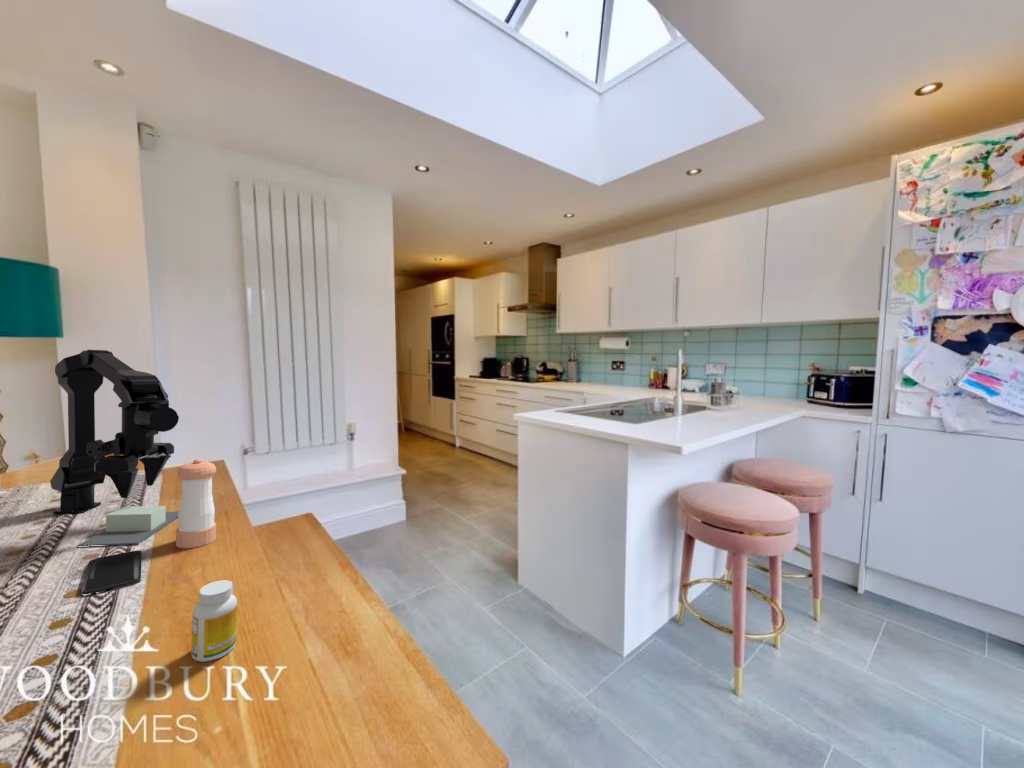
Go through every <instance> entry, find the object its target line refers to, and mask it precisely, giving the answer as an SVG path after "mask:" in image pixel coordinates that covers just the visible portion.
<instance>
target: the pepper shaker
mask: <svg viewBox="0 0 1024 768" xmlns="http://www.w3.org/2000/svg"><path fill="white" fill-rule="evenodd" d="M216 472H217V467H216V465H215V463H212V462H209V461H206V460H205V461H203V460H202V459H200V458H196V459H194V460H193V461H192V462H188V463H185V464H183V465H181V466H180V467H179V468H178V470H177V477H178V478H179V479H180V480H181V499H180V503H179V504H180V505H179V508H178V511H179V512H178V511H177V512H178V518H177V522H178V525H177V526H178V527H177V528H176V529H175V546H176V547H177V548H179V547H180V548H179V549H195V548H199V547H203V546H207V545H209V544H211V543H213V542H214V541H215V540H216V537H217V523H216V521H215V512H216V511H215V510H216V509H215V504H214V503H215V502H214V500H213V499H214V498H213V477H214V476H215V474H216Z"/></svg>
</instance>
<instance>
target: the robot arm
mask: <svg viewBox="0 0 1024 768" xmlns="http://www.w3.org/2000/svg"><path fill="white" fill-rule="evenodd" d="M54 373H55V376H56V377H57V382H58V385H59V386H60V387H61V389H63V390H64V391H65V393H67V420H68V421H67V422H68V423H67V425H68V426H67V427H68V431H67V432H68V433H67V434H68V438H67V439H68V449H67V450H66V451H65V453H64V454H63V455H62V457H61V458H60V459H59V464H58V468H57V469H56V471H55V473H54V475H52V477H51V479H50V480H49V482H50V487H51V489H52V490H54V491H57V492H60V499H59V500H60V503H59V506H60V508H58V509H55V510H53V514H65V513H66V514H70V513H73V514H75V513H85V512H87V511H90V510H92V509H94V508H96V507H98V506H100V505H102V501H101V502H99V501H97V502H96V501H95V485H99V484H101V485H102V484H104V481H105V479H106V476H107V477H109V478H110V479H111V480H112V482H113V484H114V486H115V488H116V489H117V492H118V494H119V496H120V498H121V499H127V498H128V497H129V495H130V492H131V490H132V488H133V485H134V482H135V480H136V477H137V474H138V471H139V468H138V465H139V462H141V464H143V468H144V475H145V476H144V477H145V483H146V486H147V487H149V486H150V487H151V486H154V484H155V482H156V480H157V478H158V477H159V475H160V474H161V472H162V470H163V468H164V467H165V465H166V464H167V462H168V461H169V459H170V458H171V457H172V455H173V454H175V445H173V443H171V442H155V436H156V435H159V432H161V433H163V432H164V433H165V432H168V431H171V430H173V429H174V428H175V427H176V426H177V425H178V422H179V420H180V418H179V415H178V413H177V411H176V410H175V409H173V408H171V407H170V400H169V399H168V397H169V395H168V393H167V392H166V391H165V389H164V386H163V384H162V382H161V380H159V378H158V377H157V375H155V374H152V373H149V372H145V371H141V370H135V369H134V368H132V367H130V366H129V365H128V364H126V363H125V362H124V361H122V360H120V358H118V357H116V356H114V354H113V352H112V351H111V350H110V351H109V350H107V349H86V350H82V351H81V352H80V353H78V354H77V353H76V354H74V355H70V356H67V357H64V358H63V359H61V360H60V361H58V363H57V364H55V366H54ZM104 378H106V379H107V380H108V381H109V382H111V383H112V385H113V388H112V391H113V393H114V394H116V396H117V398H119V399H120V401H121V402H118V408H121V432H117V433H116V434H115V436H114V439H111V440H108V441H103V440H102V439H96V416H95V412H96V410H95V409H96V408H95V407H96V406H95V404H96V403H95V394H96V392H97V391H98V390H99V389H100V387H101V386H102V385H103V383H104Z"/></svg>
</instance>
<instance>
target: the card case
mask: <svg viewBox="0 0 1024 768" xmlns="http://www.w3.org/2000/svg"><path fill="white" fill-rule="evenodd" d="M166 512H167V511H166V505H144V506H143V505H142V506H139V505H136V506H134V505H133V506H122V507H120V508H117V509H116V510H113V511H111V512H109V513H108V514H106V515H105V530H106V532H118V531H151V530H153V529H154V528H156V527H157V526H159V525H161V524H162V523H164V522H165V515H166Z"/></svg>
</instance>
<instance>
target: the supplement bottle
mask: <svg viewBox="0 0 1024 768" xmlns="http://www.w3.org/2000/svg"><path fill="white" fill-rule="evenodd" d="M233 586H234V585H233V582H232V581H231V580H225V579H224V580H223V579H221V580H217V581H216V580H215V581H212V582H209V583H207V584H205V585H204V586H201V588H200V589H199V592H198V602H197V603H196V604H195V605H194V606H193V609H192V612H191V613H192V616H191V648H190V649H191V657H192V659H193V660H194V661H197V662H202V663H203V662H204V663H205V662H211V661H213V660H217V659H220V658H223V657H224V656H226V655H227V654H228V653H230V652H231V651H232V650H233V649H234V647H235V646H236V642H237V630H238V629H237V623H238V598H237V597H236V595H234V594H233V591H234V589H233V588H234V587H233Z"/></svg>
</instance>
